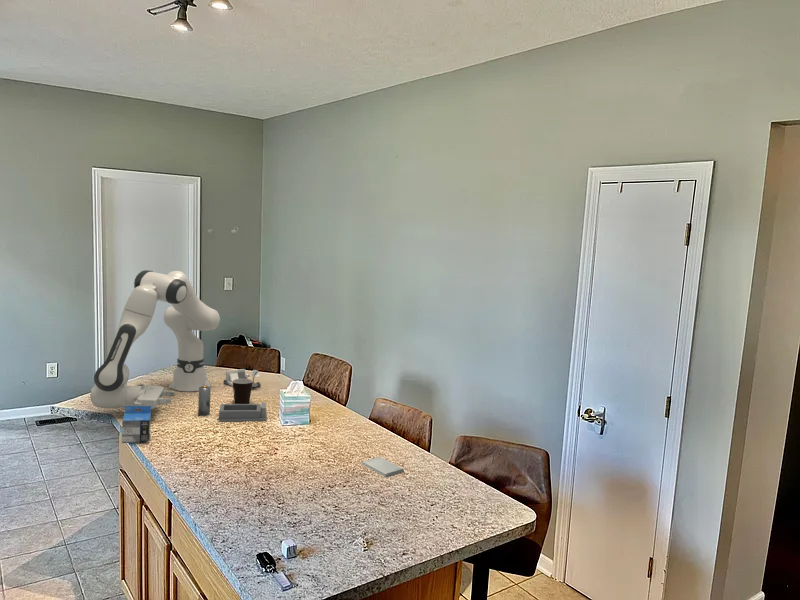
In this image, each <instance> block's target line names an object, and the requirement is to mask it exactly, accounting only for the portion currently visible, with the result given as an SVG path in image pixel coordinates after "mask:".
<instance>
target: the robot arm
mask: <svg viewBox="0 0 800 600" xmlns="http://www.w3.org/2000/svg"><path fill="white" fill-rule="evenodd" d="M133 281H134V282H133V287H134V288H133V290H132V292H131V293H130V295H129V297H128V299H127V301H126V302H125V304H124V308H123V310H122V313H121V315H120V316H121V317H120V321H119V324H118V328H117V332H116V334H115V335H116V336H115V338H114V341H113V344H112V345H111V348H110V350H109V353H108V355H107V357H106V359H105V361H104V362H103V364H101V366H99V368H97V369H96V370H95V373H94V376H93V382H94V384H95V385H93V387H92V388H91V389H90V402H91V403H92V405H93V406H94V407H96V408H100V409H101V408H102V409H117V408H122V409H123V408H124V409H125V406H151V410H153V409H156V408H158V406H159V405H164V404H171V403H172V398H171V397H175V395H176V392H175V391H173V390H176V391H179V392H199V387H202V386H203V385H207V386H208V387H211V383H210V382H209V379H208V377H207V372H208V371H207V370H206V369H205V367H204V366H205V360H204V359H205V358H204V342H203V340H202V339H200V338H199V337H197V336H196V335H195V334H194V331H201V332H202V331H203V332H205V331H206V332H207V331H214V330H216V329H217V328H218V327H219V326H220V325H219V324H220V322H221V317H220V314H219V312H218V310H216V309H214V308H212V307H210V306H208V305H207V304H206V303H204V302H203V301H202V300H201V299H200V298H199V297H198V295H197V293H196V291H195V289H194V287H193V285H192V282H191V281H190V279H189V277H188V276H187V275H186V274H185V273H184V272H183V271H180V270H172V271H170V272H168V273H166V274H164V273H160V272H156V271H153V270H147V269H146V270H141V271H139V272H138V273H137V275H136V276H135V278H134V280H133ZM158 301H160V302H166V303H168V304H171V306H168V307H167V308H166V310H165V311H164V313H163V322H164V324H165V325H166V326H167V327H168V328H169V329H170V330H172V332H173V334H174V335H175V338H176V340H177V348H178V349H177V350H178V352H177V354H178V357H177V359H176V368H175V369H174V370H173V374H172V383H170V384H169V385H168V388H169V389H173V390H172V391H170V390H165V387H164V386H162V385H161V386H160V385H146V384H142V383H140V384H138V385H128V382H129V381H128V380H129V377H130V370H129V368H128V366H127V365H126V364H125V362H126V360H127V357H128V356H129V352H130V350H131V347H132V346H133V344H134V343H135V342H136V340H138V338H140V337H141V336H142V335H143V334H144V333H145V332H146V331H147V329H148V328H149V326H150V324H151V323H152V320H153V317H154V313H155V310H156V306H157V302H158ZM211 388H212V387H211ZM164 397H166V398H164Z"/></svg>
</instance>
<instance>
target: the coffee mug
mask: <svg viewBox="0 0 800 600" xmlns="http://www.w3.org/2000/svg"><path fill="white" fill-rule="evenodd" d="M252 383H253V379H250V378H247V379H235V380H233V386H232V390H233V402H234V403H233V404H250V401H251V395H252V388H253V387H252Z"/></svg>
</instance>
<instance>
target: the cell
mask: <svg viewBox="0 0 800 600" xmlns="http://www.w3.org/2000/svg"><path fill="white" fill-rule="evenodd" d="M211 389H212V387H208V386H207V385H203V386H202V387H199V391H198V400H197V401H198V405H197V406H198V408H197V415H198V416H199V417H200V416H201V417H207V416H210V414H211V393H212V391H211Z"/></svg>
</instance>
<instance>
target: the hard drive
mask: <svg viewBox="0 0 800 600" xmlns="http://www.w3.org/2000/svg"><path fill="white" fill-rule="evenodd" d="M361 465H363V466H364V465H365V467H366V468H368V469H370V470H372V471H373V470H374V472H375V473H377V474H379V475H381V476H383V477H384V478H387V477H390V476H393V475H394V476H395V475H397V474H400V473H403V472H405V469H404V468H402V467H401V466H398V465H396V464H394V463H393V462H391V461H389V460H387V459H385V458H383V457H381V456H377V457H375V458H371V459H367V460H363V461H361Z"/></svg>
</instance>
